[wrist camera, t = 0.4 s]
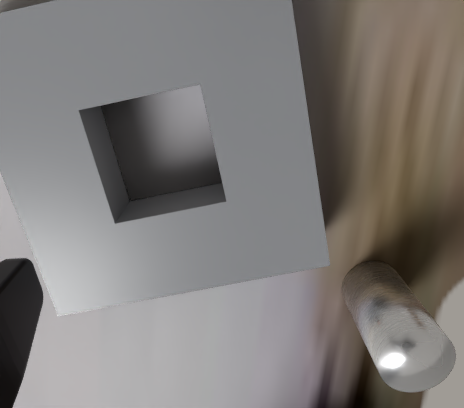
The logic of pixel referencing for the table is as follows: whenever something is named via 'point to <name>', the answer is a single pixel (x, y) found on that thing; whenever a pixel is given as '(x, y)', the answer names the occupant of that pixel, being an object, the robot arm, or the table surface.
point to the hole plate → (105, 162)
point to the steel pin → (397, 328)
